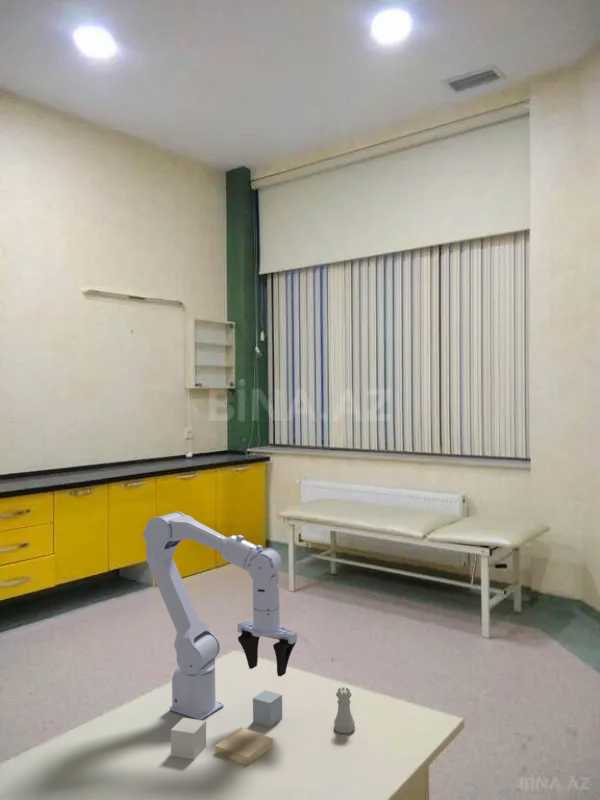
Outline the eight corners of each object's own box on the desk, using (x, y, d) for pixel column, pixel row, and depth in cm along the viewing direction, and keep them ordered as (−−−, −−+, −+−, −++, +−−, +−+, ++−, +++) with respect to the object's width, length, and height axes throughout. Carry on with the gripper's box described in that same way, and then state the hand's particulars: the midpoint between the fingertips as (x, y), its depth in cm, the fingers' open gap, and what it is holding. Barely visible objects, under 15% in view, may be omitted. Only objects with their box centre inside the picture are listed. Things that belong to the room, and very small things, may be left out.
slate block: (253, 722, 129) (252, 698, 129) (265, 713, 133) (265, 690, 133) (270, 727, 127) (269, 703, 127) (282, 718, 130) (282, 694, 131)
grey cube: (171, 756, 116) (170, 729, 116) (183, 743, 121) (183, 717, 121) (194, 760, 115) (194, 733, 115) (206, 746, 119) (205, 720, 120)
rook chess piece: (354, 735, 123) (353, 695, 123) (332, 733, 124) (331, 693, 124) (356, 724, 127) (355, 686, 127) (335, 722, 128) (334, 684, 128)
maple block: (215, 755, 117) (215, 745, 117) (241, 737, 124) (240, 727, 124) (247, 768, 112) (247, 757, 113) (272, 748, 119) (272, 738, 119)
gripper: (228, 606, 131) (229, 670, 131) (283, 617, 123) (284, 685, 123) (248, 598, 137) (249, 659, 137) (302, 608, 129) (303, 672, 129)
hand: (267, 670), depth 130 cm, fingers open, 7 cm apart
